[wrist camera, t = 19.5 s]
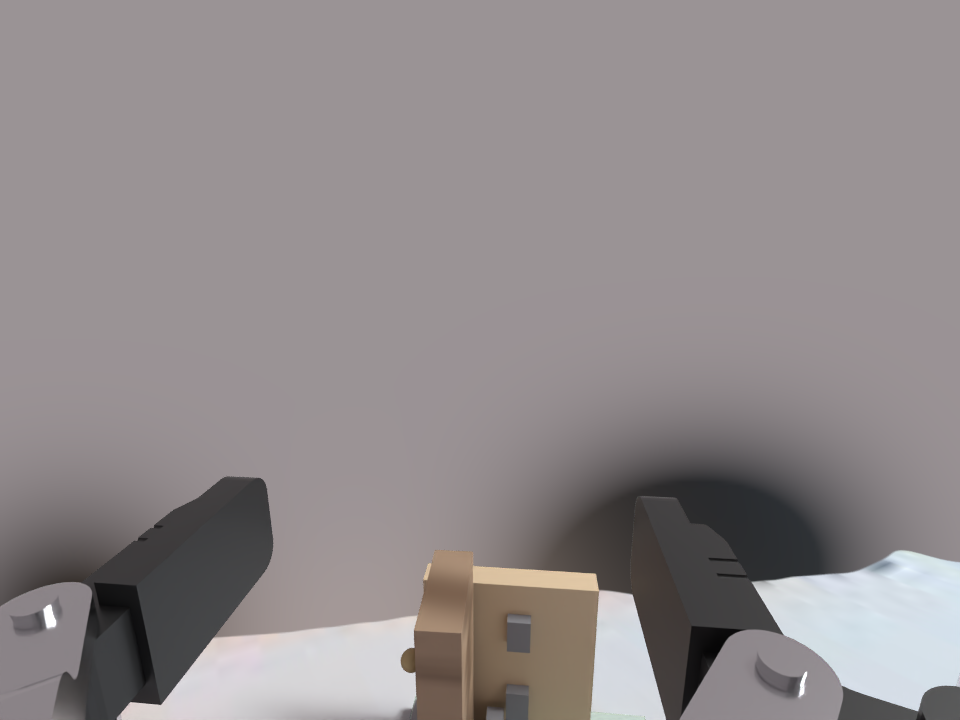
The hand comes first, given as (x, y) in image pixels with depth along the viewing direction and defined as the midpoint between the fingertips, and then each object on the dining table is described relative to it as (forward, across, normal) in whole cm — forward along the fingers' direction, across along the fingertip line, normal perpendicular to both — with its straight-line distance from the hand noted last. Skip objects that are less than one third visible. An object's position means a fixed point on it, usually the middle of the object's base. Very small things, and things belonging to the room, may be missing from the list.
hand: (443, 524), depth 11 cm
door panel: (+16, +3, +30) cm, 34 cm away
